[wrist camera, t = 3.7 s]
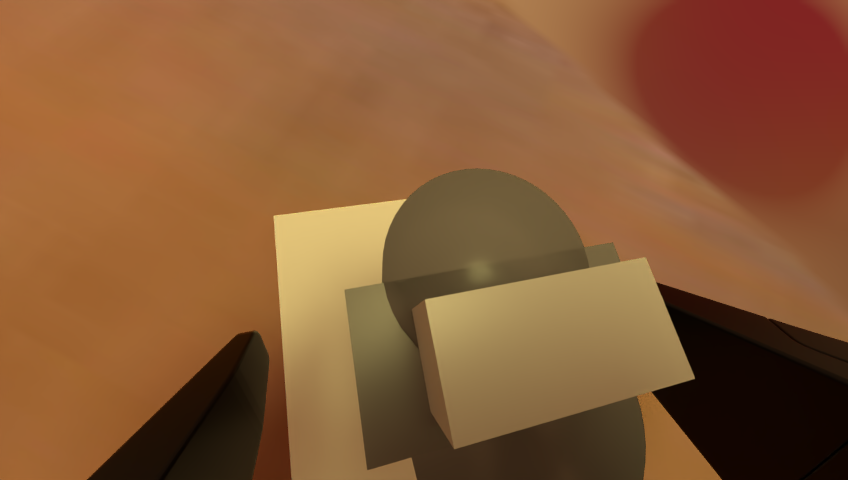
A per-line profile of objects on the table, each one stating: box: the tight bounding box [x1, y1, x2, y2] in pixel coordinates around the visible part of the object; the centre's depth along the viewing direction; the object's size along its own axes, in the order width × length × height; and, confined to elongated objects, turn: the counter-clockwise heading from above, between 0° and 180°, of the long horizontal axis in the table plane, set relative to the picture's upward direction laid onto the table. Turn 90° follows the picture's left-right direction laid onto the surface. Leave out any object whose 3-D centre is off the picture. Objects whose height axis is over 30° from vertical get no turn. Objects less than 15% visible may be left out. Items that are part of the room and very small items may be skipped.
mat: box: [274, 199, 417, 480], centre depth 15 cm, size 14×12×1 cm
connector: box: [344, 169, 695, 480], centre depth 9 cm, size 5×4×12 cm
